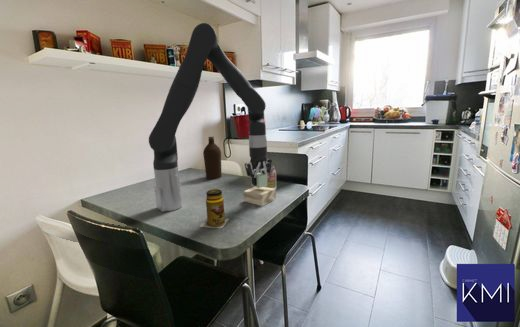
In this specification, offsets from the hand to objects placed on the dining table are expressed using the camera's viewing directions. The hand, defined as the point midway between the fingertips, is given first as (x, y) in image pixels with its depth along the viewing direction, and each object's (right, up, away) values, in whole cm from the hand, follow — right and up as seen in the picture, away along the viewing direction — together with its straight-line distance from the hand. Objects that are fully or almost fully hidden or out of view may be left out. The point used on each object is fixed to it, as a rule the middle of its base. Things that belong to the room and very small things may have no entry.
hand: (259, 184), depth 108 cm
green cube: (0, -1, 0) cm, 1 cm away
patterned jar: (+4, -5, +15) cm, 16 cm away
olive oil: (-28, 0, +45) cm, 53 cm away
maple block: (0, -8, +1) cm, 8 cm away
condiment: (-16, -12, -20) cm, 29 cm away
